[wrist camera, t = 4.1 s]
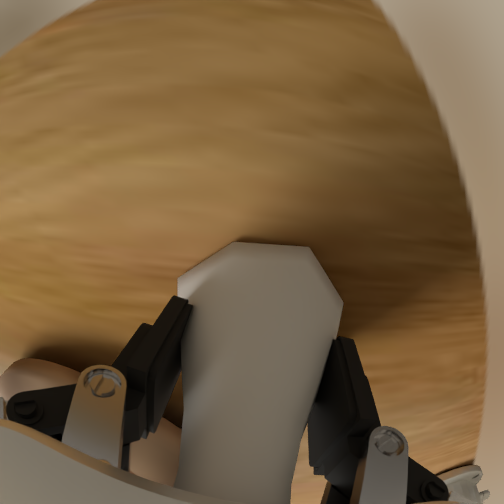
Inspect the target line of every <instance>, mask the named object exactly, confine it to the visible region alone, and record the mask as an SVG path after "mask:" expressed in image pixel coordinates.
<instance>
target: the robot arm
mask: <svg viewBox="0 0 504 504" xmlns="http://www.w3.org/2000/svg"><path fill="white" fill-rule="evenodd" d="M192 308H193V305H191V304H188V299H184V298H181V297H178V296H173V297H172V298H171V299H170V301H169V302H168V304H167V305H166V307H165V308H164V310H163V311H162V313H161V314H160V316H159V317H158V319H157V320H156V322H155V323H154V325H153V326H152V325H149V324H146V323H142V324H141V325H140V327H139V328H138V330H137V331H136V332H135V334H134V335H133V336H132V338H131V339H130V341H129V342H128V343H127V345H126V346H125V348H124V349H123V351H122V352H121V353H120V355H119V356H118V358H117V359H116V360H115V362H114V363H113V365H112V366H107V365H94V366H91V367H88V368H86V369H85V370H84V371H83V372H81V374H80V376H79V378H78V381H77V383H76V384H71V385H65V386H58V387H52V388H45V389H38V390H31V391H23V392H20V393H17V394H15V395H13V396H12V397H11V398H10V399H9V400H4V398H3V397H0V504H246V503H240V502H234V501H228V500H223V499H218V498H214V497H209V496H205V495H200V494H196V493H192V492H188V491H185V490H181V489H177V488H174V487H170V486H167V485H164V484H161V483H157V482H154V481H151V480H148V479H146V478H143V477H140V476H137V475H135V474H132V473H130V462H131V444H132V442H135V441H139V440H140V439H141V438H144V439H147V437H148V435H149V432H151V433H155V432H156V430H157V427H158V425H159V423H160V420H161V418H162V415H163V413H164V410H165V408H166V406H167V403H168V401H169V398H170V396H171V394H172V391H173V389H174V387H175V384H176V382H177V379H178V377H179V375H180V372H181V370H182V366H181V339H182V336H183V333H184V330H185V327H186V324H187V322H188V319H189V316H190V313H191V310H192ZM308 445H309V465H310V466H311V467H314V475H325V479H327V480H328V481H327V484H326V487H325V490H324V494H323V497H322V500H321V503H320V504H483V500H486V499H488V497H489V495H490V492H489V491H488V490H485V491H482V492H480V493H479V492H478V489H477V486H476V484H477V483H478V482H479V480H480V479H481V477H482V475H483V474H482V471H481V468H480V467H479V466H477V465H468V466H464V467H460V468H457V469H454V470H451V471H448V472H445V473H443V474H440V475H438V476H436V475H434V474H433V473H431V472H430V471H428V470H427V469H426V468H424V467H423V466H421V465H420V464H418V463H417V462H415V461H414V460H413V459H411V458H410V457H408V442H407V440H406V438H405V437H404V435H403V434H402V433H401V432H399V431H398V430H397V429H395V428H392V427H388V426H381V424H380V420H379V416H378V413H377V409H376V406H375V402H374V399H373V395H372V392H371V388H370V385H369V382H368V379H367V377H366V376H365V374H364V371H363V368H362V365H361V361H360V358H359V355H358V352H357V348H356V345H355V342H354V340H353V339H350V338H345V337H340V336H339V337H338V338H337V339H336V340H335V339H333V341H332V345H331V348H330V352H329V356H328V359H327V363H326V367H325V370H324V373H323V377H322V380H321V384H320V387H319V390H318V393H317V397H316V400H315V403H314V406H313V409H312V412H311V414H310V417H309V420H308Z"/></svg>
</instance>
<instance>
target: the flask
mask: <svg viewBox="0 0 504 504" xmlns="http://www.w3.org/2000/svg"><path fill="white" fill-rule="evenodd" d="M178 297H181V298H184V299H188V304H191V305H193V308H192V310H191V313H190V316H189V319H188V322H187V324H186V327H185V330H184V333H183V336H182V339H181V366H182V386H183V402H184V414H183V423H182V434H181V445H180V456H179V468H178V472H177V475H176V479H175V482H174V486H173V487H174V488H177V489H181V490H185V491H188V492H192V493H196V494H200V495H205V496H209V497H214V498H218V499H223V500H228V501H234V502H240V503H246V504H290V499H291V483H292V479H293V475H294V470H295V466H296V461H297V456H298V452H299V447H300V442H301V438H302V436H303V433H304V430H305V428H306V425H307V423H308V420H309V417H310V414H311V412H312V409H313V406H314V403H315V400H316V397H317V393H318V390H319V387H320V384H321V380H322V377H323V373H324V370H325V367H326V363H327V359H328V356H329V352H330V348H331V345H332V341H333V339H335V340H336V337H337V332H338V328H339V323H340V318H341V313H342V309H343V304H344V303H343V301H342V299H341V298H340V296H339V294H338V293H337V291H336V289H335V288H334V286H333V284H332V283H331V281H330V279H329V278H328V276H327V275H326V273H325V271H324V270H323V268H322V267H321V265H320V263H319V262H318V260H317V259H316V257H315V255H314V254H313V252H312V251H311V249H310V248H309V247H303V246H289V245H274V244H260V243H245V242H232V243H231V244H229V245H227V246H226V247H224V248H223V249H221V250H220V251H218V252H217V253H215V254H214V255H212V256H211V257H209V258H207V259H206V260H204V261H203V262H201V263H200V264H198V265H197V266H195V267H194V268H192V269H191V270H189V271H188V272H186V273H185V274H183V275H182V276H180V277H179V278H178Z"/></svg>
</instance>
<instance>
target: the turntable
mask: <svg viewBox="0 0 504 504" xmlns="http://www.w3.org/2000/svg"><path fill="white" fill-rule="evenodd" d="M80 374H81V373H80V372H77V371H75V370H73V369H71V368H68V367H65V366H62V365H59V364H56V363H54V362H50V361H45V360H41V359H33V358H26V359H20V360H18V361H16V362H14V363H13V364H12V365H11V366H10V367H9V368H8V369H7V370H6V371H5V372H4V373H3V374H2V375H1V376H0V397H3V398H4V400H9V399H10V398H11V397H12V396H13V395H15V394H17V393H20V392H23V391H31V390H38V389H45V388H52V387H58V386H65V385H71V384H76V383H77V381H78V378H79V376H80ZM181 434H182V430H181V429H180V428H178V427H177V426H175V425H174V424H173V423H171V422H170V421H168V420H166V419H165V418H163V417H162V418H161V420H160V423H159V425H158V427H157V430H156V432H155V433H151V432H149V435H148V437H147V439H144V438H141V439H140V440H139V441H135V442H132V444H131V462H130V473H132V474H135V475H137V476H140V477H143V478H146V479H148V480H151V481H154V482H157V483H161V484H164V485H167V486H170V487H173V486H174V482H175V479H176V475H177V472H178V468H179V456H180V445H181Z"/></svg>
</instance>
